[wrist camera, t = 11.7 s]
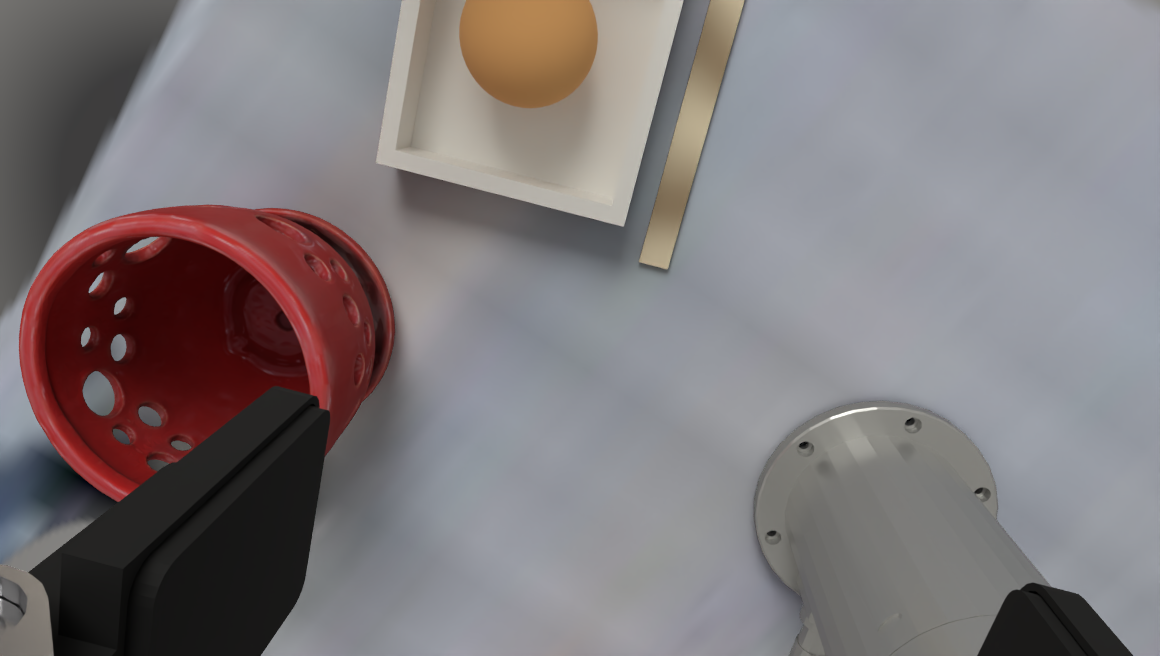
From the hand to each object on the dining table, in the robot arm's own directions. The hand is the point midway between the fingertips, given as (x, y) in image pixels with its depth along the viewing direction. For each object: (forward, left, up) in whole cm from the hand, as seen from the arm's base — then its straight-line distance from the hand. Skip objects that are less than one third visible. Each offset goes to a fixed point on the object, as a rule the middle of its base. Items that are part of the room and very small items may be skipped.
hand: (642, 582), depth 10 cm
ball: (+7, +7, -30) cm, 31 cm away
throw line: (+8, -1, -30) cm, 31 cm away
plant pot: (-9, +17, -31) cm, 36 cm away
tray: (+7, +7, -30) cm, 32 cm away
